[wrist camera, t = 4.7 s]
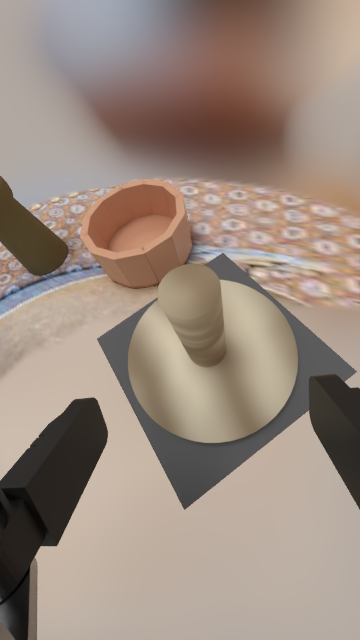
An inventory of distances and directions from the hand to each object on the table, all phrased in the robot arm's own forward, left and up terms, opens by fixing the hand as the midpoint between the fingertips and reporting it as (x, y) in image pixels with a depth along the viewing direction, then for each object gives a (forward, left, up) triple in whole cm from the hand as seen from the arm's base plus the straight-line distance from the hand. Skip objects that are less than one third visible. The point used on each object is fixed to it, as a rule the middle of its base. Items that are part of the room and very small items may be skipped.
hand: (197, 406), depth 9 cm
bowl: (+5, +20, -11) cm, 23 cm away
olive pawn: (-6, +29, -11) cm, 31 cm away
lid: (+3, +5, -10) cm, 12 cm away
